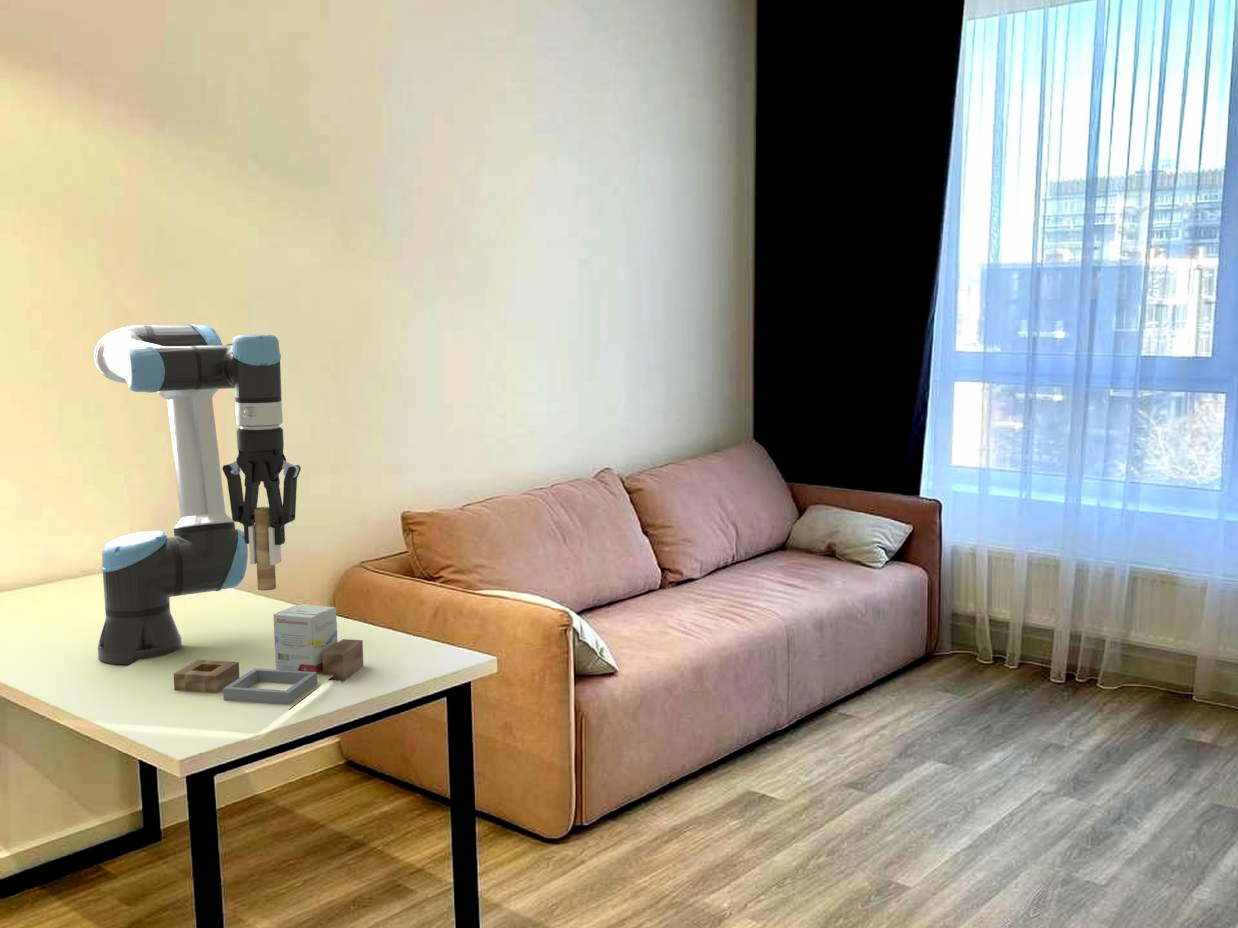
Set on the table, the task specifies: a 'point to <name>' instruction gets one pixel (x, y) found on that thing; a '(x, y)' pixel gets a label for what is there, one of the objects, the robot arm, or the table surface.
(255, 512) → the dowel
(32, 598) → the table surface
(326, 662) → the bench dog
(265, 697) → the tray
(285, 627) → the ink box
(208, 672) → the socket block
